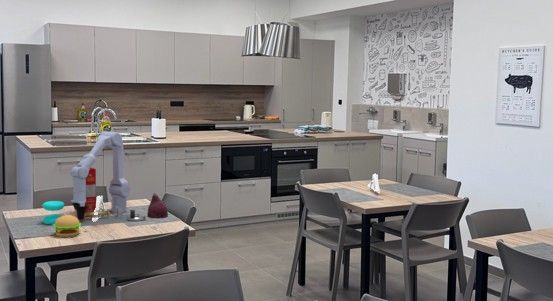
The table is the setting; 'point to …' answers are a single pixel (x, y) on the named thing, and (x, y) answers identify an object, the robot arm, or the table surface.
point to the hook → (92, 214)
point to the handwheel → (135, 216)
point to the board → (106, 220)
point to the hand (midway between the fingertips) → (79, 218)
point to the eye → (118, 212)
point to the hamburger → (67, 226)
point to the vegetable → (157, 208)
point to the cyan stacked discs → (52, 207)
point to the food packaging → (91, 191)
